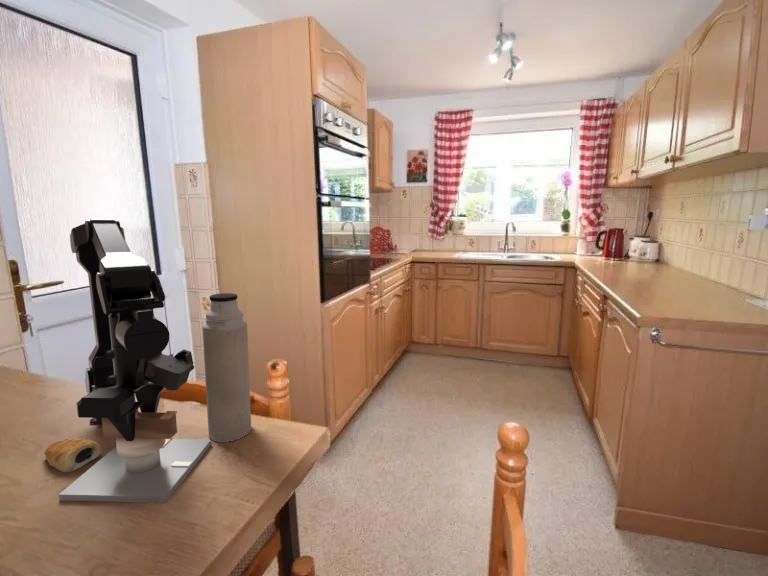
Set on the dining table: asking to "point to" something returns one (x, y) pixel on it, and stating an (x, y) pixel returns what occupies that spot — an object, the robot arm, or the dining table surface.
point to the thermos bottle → (226, 369)
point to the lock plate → (138, 474)
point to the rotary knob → (143, 433)
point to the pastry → (72, 453)
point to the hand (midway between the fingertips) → (140, 432)
